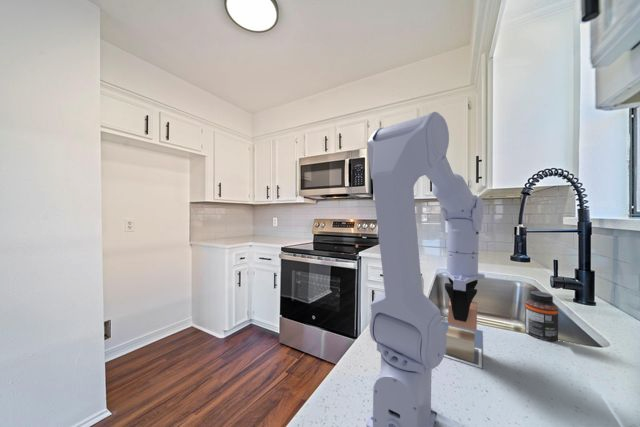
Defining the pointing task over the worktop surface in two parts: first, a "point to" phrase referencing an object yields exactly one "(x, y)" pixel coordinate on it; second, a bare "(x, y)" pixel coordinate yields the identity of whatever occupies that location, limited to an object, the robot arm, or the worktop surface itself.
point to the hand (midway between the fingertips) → (461, 315)
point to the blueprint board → (477, 353)
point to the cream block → (460, 343)
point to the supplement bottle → (542, 317)
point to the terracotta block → (471, 319)
